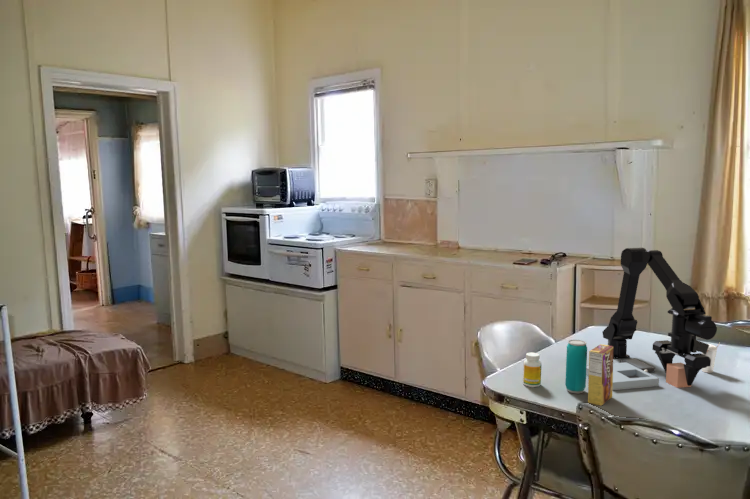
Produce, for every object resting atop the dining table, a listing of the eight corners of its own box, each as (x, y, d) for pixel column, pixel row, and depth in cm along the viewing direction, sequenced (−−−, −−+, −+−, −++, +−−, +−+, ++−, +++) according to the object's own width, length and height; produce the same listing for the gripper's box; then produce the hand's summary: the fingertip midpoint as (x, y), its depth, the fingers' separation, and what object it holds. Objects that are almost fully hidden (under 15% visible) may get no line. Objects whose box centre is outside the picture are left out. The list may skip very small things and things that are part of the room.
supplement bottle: (520, 381, 190) (521, 351, 188) (538, 381, 190) (539, 351, 188) (525, 387, 184) (526, 356, 183) (542, 387, 184) (544, 356, 183)
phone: (620, 363, 207) (621, 359, 207) (635, 362, 208) (635, 358, 208) (639, 372, 198) (640, 368, 197) (654, 371, 199) (654, 367, 199)
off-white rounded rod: (644, 371, 199) (644, 368, 199) (648, 372, 198) (648, 369, 198) (638, 377, 193) (638, 374, 193) (642, 377, 193) (642, 374, 193)
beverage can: (585, 388, 183) (587, 340, 181) (585, 395, 178) (587, 345, 176) (565, 386, 185) (567, 338, 183) (564, 393, 180) (566, 343, 178)
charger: (665, 382, 189) (666, 363, 188) (680, 381, 190) (681, 362, 189) (677, 387, 184) (678, 368, 183) (691, 386, 185) (693, 367, 184)
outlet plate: (582, 372, 197) (582, 365, 197) (626, 369, 201) (626, 362, 201) (611, 390, 182) (612, 382, 182) (658, 385, 185) (659, 378, 185)
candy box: (597, 393, 179) (600, 343, 177) (612, 397, 176) (615, 346, 174) (586, 402, 172) (588, 350, 170) (601, 406, 170) (604, 353, 168)
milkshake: (720, 374, 196) (722, 344, 195) (702, 373, 197) (704, 343, 196) (715, 369, 200) (717, 340, 199) (697, 368, 201) (699, 339, 200)
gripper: (728, 337, 178) (724, 388, 180) (683, 321, 196) (679, 368, 198) (695, 339, 175) (692, 391, 177) (652, 323, 193) (649, 371, 195)
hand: (678, 380), depth 187 cm, fingers open, 9 cm apart
